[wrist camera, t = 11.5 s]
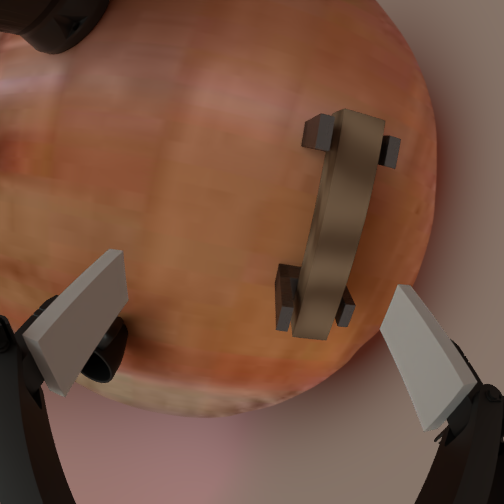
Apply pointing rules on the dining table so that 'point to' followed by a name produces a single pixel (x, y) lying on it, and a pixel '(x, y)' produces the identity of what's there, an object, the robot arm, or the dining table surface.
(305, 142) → the bracket
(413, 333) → the robot arm
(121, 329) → the mug
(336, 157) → the rail
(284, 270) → the bracket
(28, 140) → the dining table surface
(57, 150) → the dining table surface
